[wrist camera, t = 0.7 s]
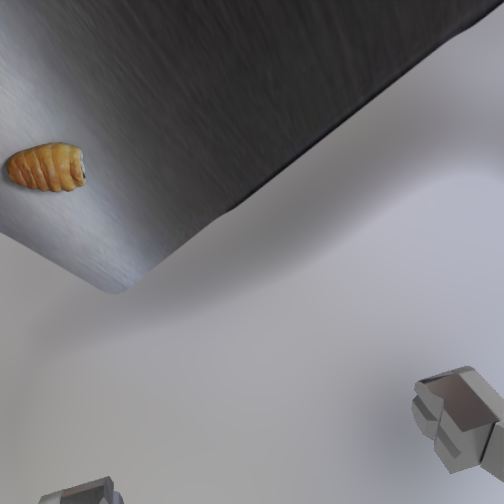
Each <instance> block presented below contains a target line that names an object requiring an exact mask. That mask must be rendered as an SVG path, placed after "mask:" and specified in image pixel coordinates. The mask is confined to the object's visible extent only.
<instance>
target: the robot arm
mask: <svg viewBox="0 0 504 504" xmlns="http://www.w3.org/2000/svg"><path fill="white" fill-rule="evenodd" d="M414 390H415V392H416V393H417V394H418V395H417V396H416V397H415V398H414V399H413V401H412V412H413V415H414V419H415V421H416V423H417V425H418V427H419V428H420V430H421V431H422V433H423V434H424V435H425V436H427V437H428V438H430V439H432V440H434V451H435V452H436V454H437V455H438V456H439V457H440V459H441V461H442V462H443V464H444V465H445V467H446V468H447V469H448V471H449V472H450V474H452V473H455V472H458V471H461V470H464V469H468V468H471V467H474V466H477V465H480V464H481V466H480V467H482V468H483V469H485V470H486V471H488V472H489V473H491V474H492V475H494V476H495V477H497V478H498V479H499V480H501V481H502V482H504V399H503V398H502V397H501V396H500V395H499V394H498V393H497V392H496V391H495V390H494V389H493V388H492V387H491V386H490V384H489V383H488V382H486V380H485V379H484V378H483V377H482V376H481V375H480V374H479V373H478V372H477V371H476V370H475V369H474V368H472V367H470V366H464V367H461V368H458V369H455V370H451V371H447V372H444V373H441V374H438V375H435V376H432V377H429V378H426V379H423V380H420V381H418V382H417V383H416V384H415V388H414ZM113 489H114V483H113V481H112V480H111V478H110V477H109V476H107V477H104V478H101V479H98V480H95V481H91V482H88V483H85V484H81V485H78V486H75V487H72V488H68V489H63V490H60V491H57V492H54V493H51V494H48V495H44V496H42V497H41V499H40V501H39V503H38V504H124V502H123V499H122V497H121V495H120V493H119V492H116V491H114V490H113Z"/></svg>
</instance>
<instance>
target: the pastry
mask: <svg viewBox="0 0 504 504" xmlns="http://www.w3.org/2000/svg"><path fill="white" fill-rule="evenodd" d="M82 159H83V154H82V151H81V150H80V149H79V148H77V147H75V146H72V145H68V144H65V143H48V144H43V145H40V146H36V147H33V148H30V149H26V150H23V151H20V152H17V153H16V154H14V155H13V156H12V157H10V159H9V160H8V161H7V171H8V176H9V179H10V180H12V181H14V182H16V183H17V184H19V185H23V186H26V187H28V188H30V189H35V188H37V189H40V190H41V191H46V190H50V191H52V192H59V191H60V190H65V191H67V192H69V191H73V190H74V189H75V188H76V187H82V186H84V185H85V184H86V177H85V174H84V173H85V167H84V165H83V162H82Z"/></svg>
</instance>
